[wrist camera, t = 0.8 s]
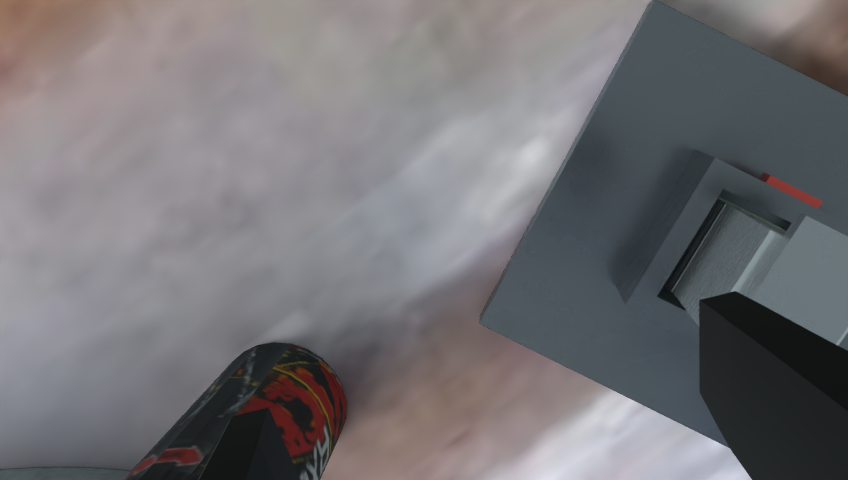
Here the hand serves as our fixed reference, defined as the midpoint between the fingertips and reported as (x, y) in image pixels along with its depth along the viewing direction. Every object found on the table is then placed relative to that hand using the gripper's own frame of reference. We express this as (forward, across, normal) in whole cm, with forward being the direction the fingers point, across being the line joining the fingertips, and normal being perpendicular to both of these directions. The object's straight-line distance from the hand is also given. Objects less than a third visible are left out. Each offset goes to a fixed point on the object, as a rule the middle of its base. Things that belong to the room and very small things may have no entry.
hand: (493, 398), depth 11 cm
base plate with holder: (+14, -11, +8) cm, 20 cm away
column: (+14, -11, +8) cm, 20 cm away
